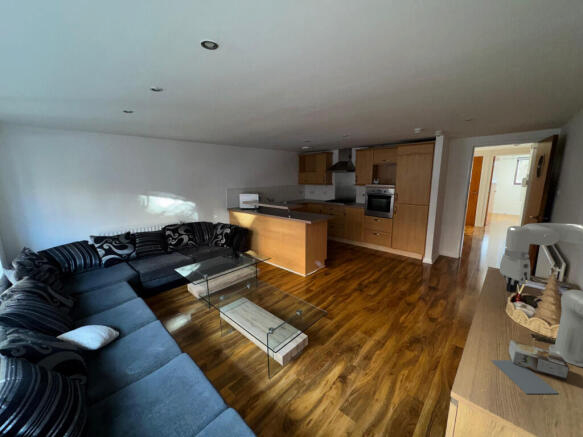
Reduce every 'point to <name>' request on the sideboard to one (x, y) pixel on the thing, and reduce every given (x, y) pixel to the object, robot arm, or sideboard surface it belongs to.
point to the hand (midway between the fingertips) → (511, 291)
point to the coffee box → (538, 360)
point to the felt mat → (524, 378)
